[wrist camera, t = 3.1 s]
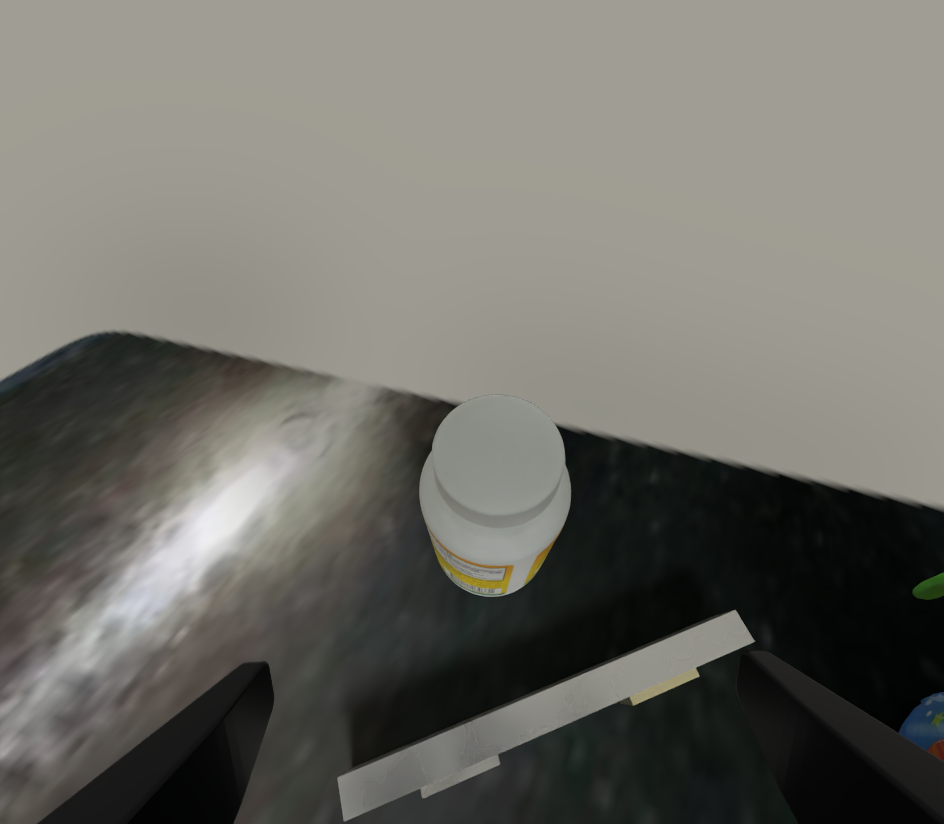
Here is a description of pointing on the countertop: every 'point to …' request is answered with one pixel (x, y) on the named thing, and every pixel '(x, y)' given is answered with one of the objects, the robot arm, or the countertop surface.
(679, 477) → the countertop surface
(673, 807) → the countertop surface
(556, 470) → the supplement bottle
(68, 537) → the countertop surface
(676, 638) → the price rail
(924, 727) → the snack cup
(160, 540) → the countertop surface
